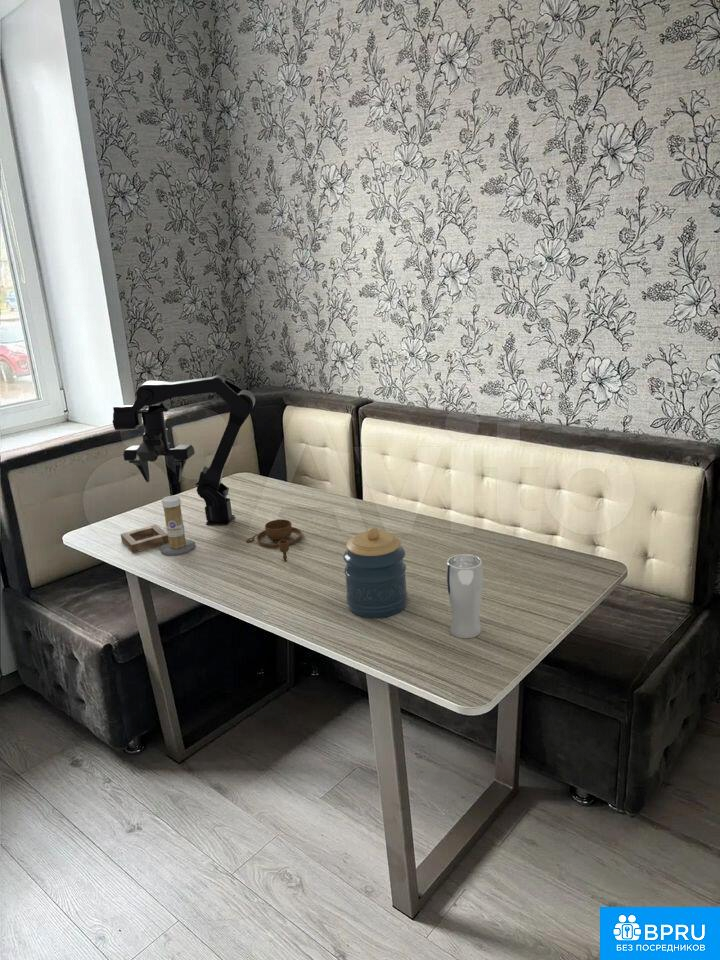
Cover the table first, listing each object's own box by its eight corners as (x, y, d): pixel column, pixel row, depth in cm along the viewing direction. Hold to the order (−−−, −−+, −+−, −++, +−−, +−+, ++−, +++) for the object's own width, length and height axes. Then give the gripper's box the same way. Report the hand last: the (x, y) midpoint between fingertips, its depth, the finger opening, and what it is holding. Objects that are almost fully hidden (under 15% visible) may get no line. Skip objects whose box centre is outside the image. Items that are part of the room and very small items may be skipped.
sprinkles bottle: (169, 550, 190) (161, 502, 186) (169, 544, 195) (161, 496, 190) (187, 547, 191) (179, 499, 187) (186, 541, 196) (179, 493, 191)
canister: (372, 584, 166) (367, 512, 160) (419, 599, 158) (416, 523, 152) (334, 608, 156) (328, 532, 151) (382, 625, 148) (377, 545, 143)
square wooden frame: (157, 531, 205) (156, 524, 205) (169, 542, 197) (168, 534, 197) (121, 541, 200) (120, 533, 200) (133, 552, 192) (131, 545, 192)
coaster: (200, 541, 197) (200, 539, 196) (187, 555, 188) (187, 553, 188) (168, 541, 198) (168, 539, 198) (154, 555, 190) (154, 553, 190)
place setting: (319, 534, 197) (317, 513, 196) (290, 566, 179) (288, 544, 178) (260, 530, 203) (257, 510, 201) (226, 561, 185) (223, 539, 183)
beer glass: (480, 620, 148) (479, 552, 143) (486, 638, 141) (486, 567, 136) (445, 623, 148) (443, 554, 143) (450, 641, 141) (448, 570, 136)
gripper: (109, 436, 195) (119, 491, 200) (175, 435, 191) (183, 491, 196) (128, 425, 205) (137, 478, 210) (191, 424, 202) (199, 478, 207)
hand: (163, 481), depth 205 cm, fingers open, 9 cm apart
